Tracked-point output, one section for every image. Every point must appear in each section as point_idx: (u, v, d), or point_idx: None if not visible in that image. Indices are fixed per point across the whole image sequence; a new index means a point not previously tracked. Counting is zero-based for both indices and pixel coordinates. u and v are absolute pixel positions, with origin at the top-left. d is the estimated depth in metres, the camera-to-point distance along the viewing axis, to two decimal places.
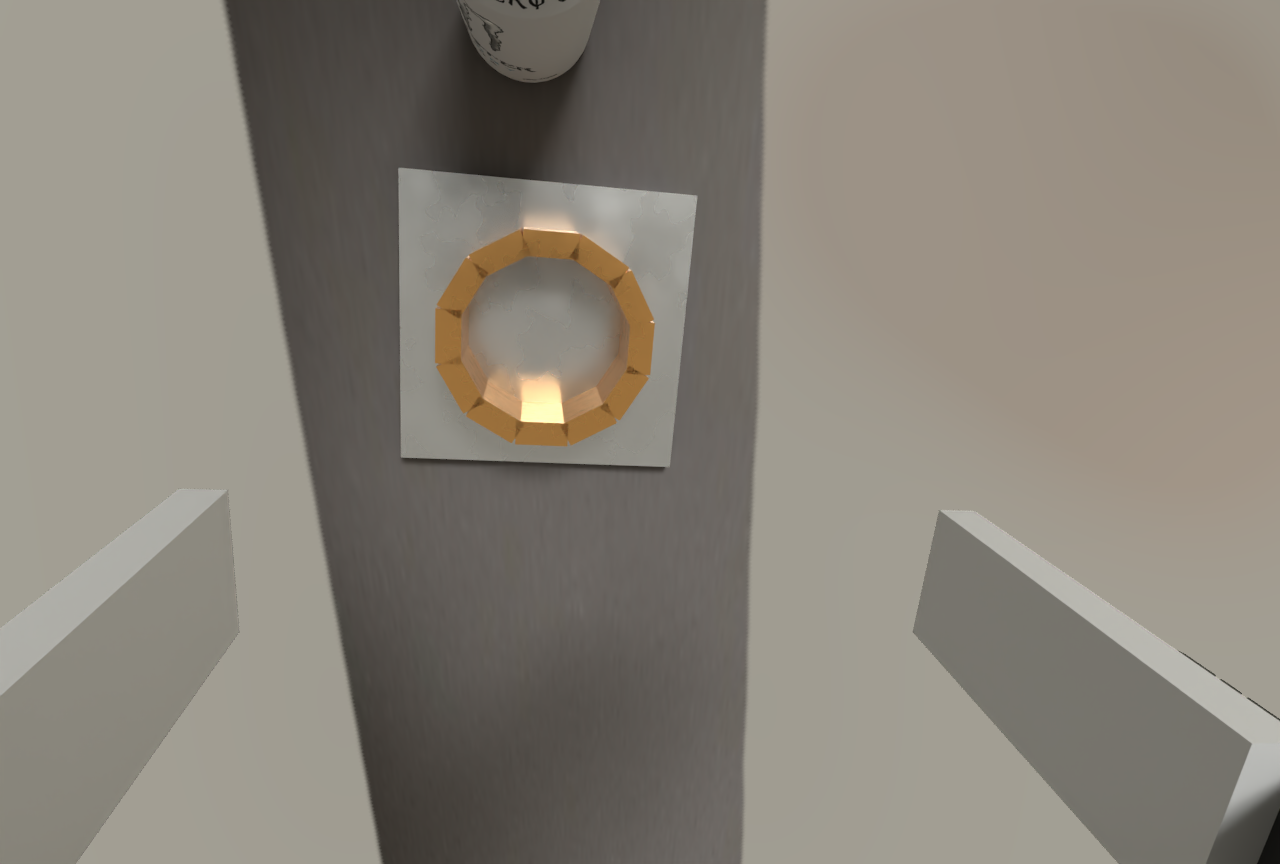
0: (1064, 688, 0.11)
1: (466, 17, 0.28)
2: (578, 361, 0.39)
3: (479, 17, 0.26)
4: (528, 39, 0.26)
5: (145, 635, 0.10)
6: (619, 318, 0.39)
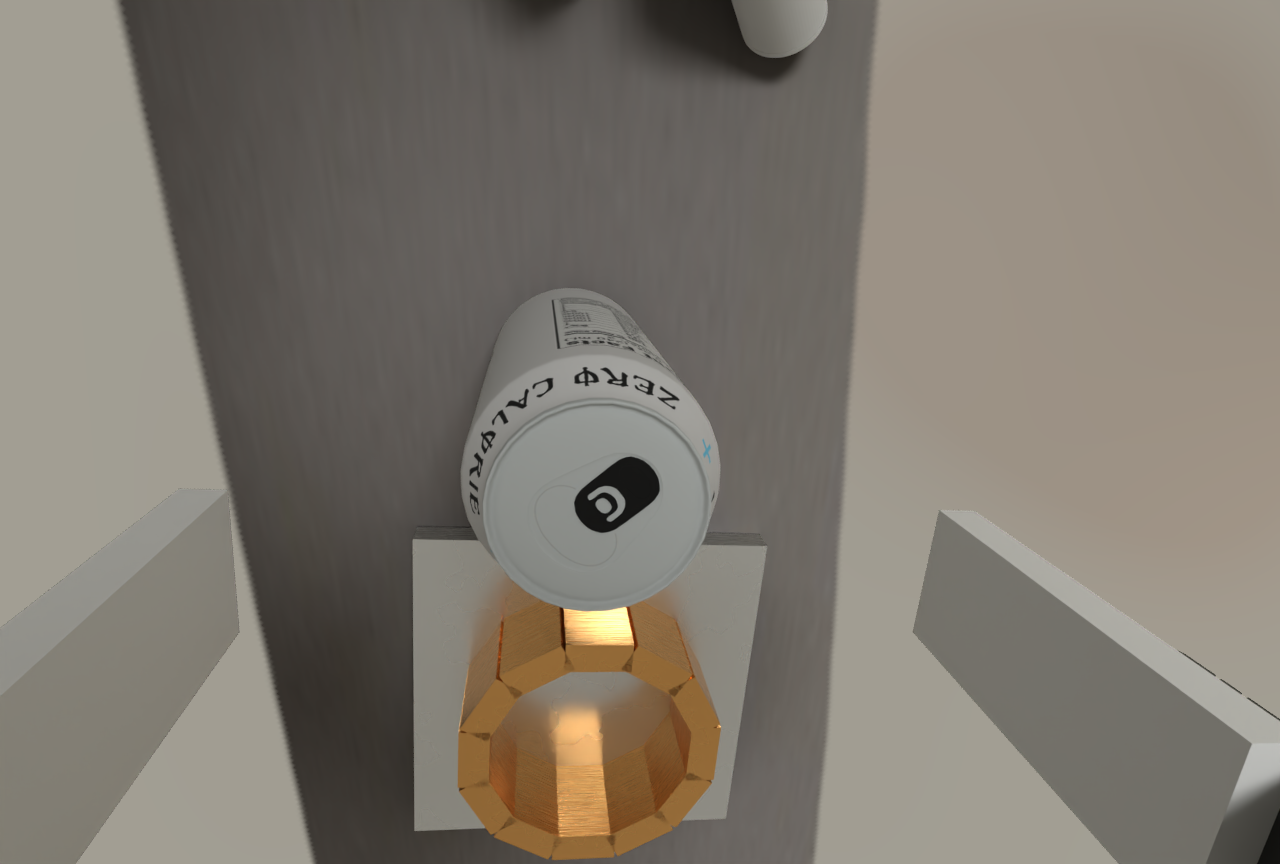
0: (1064, 688, 0.11)
1: None
2: (623, 722, 0.34)
3: None
4: None
5: (145, 635, 0.10)
6: None
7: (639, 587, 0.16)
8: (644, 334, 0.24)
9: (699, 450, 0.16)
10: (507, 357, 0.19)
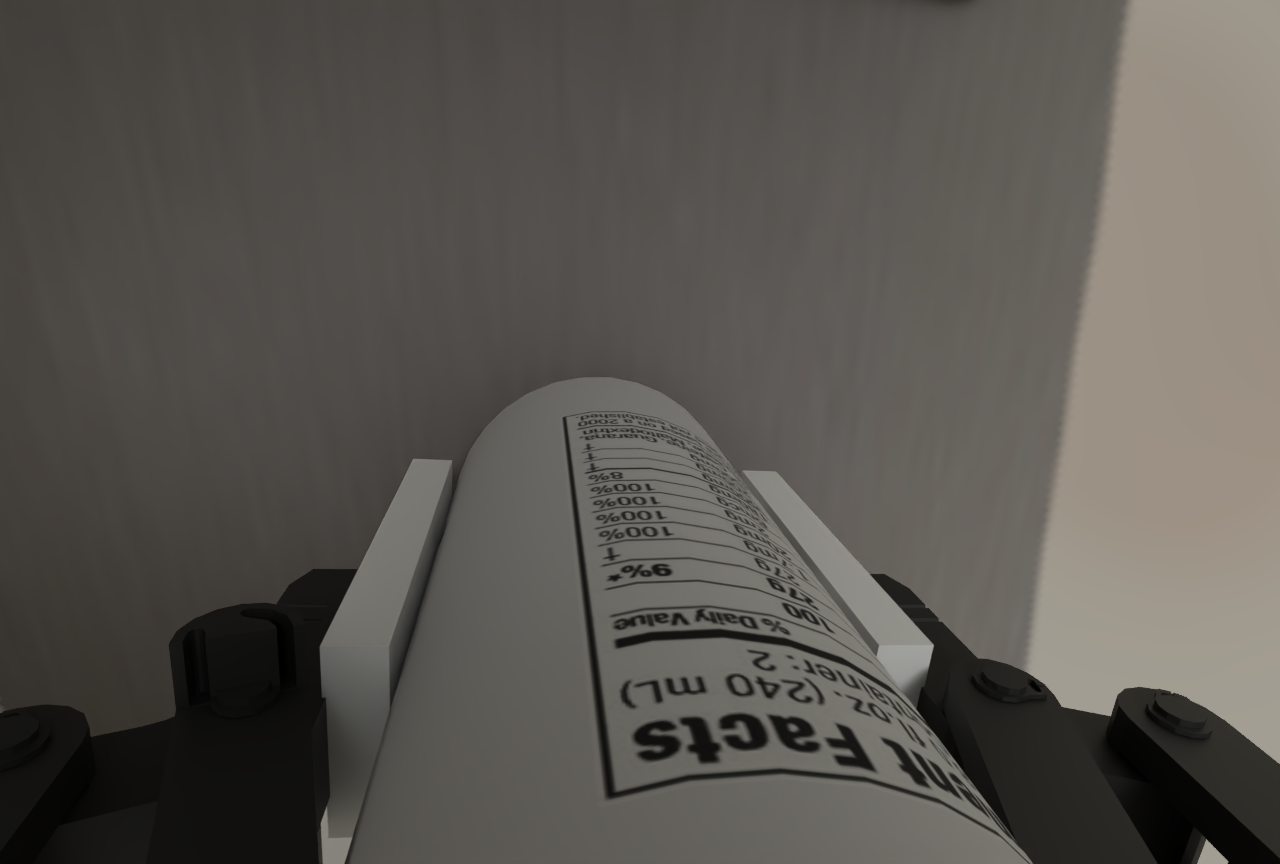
0: None
1: None
2: None
3: None
4: None
5: None
6: None
7: None
8: (748, 488, 0.12)
9: None
10: (447, 672, 0.07)
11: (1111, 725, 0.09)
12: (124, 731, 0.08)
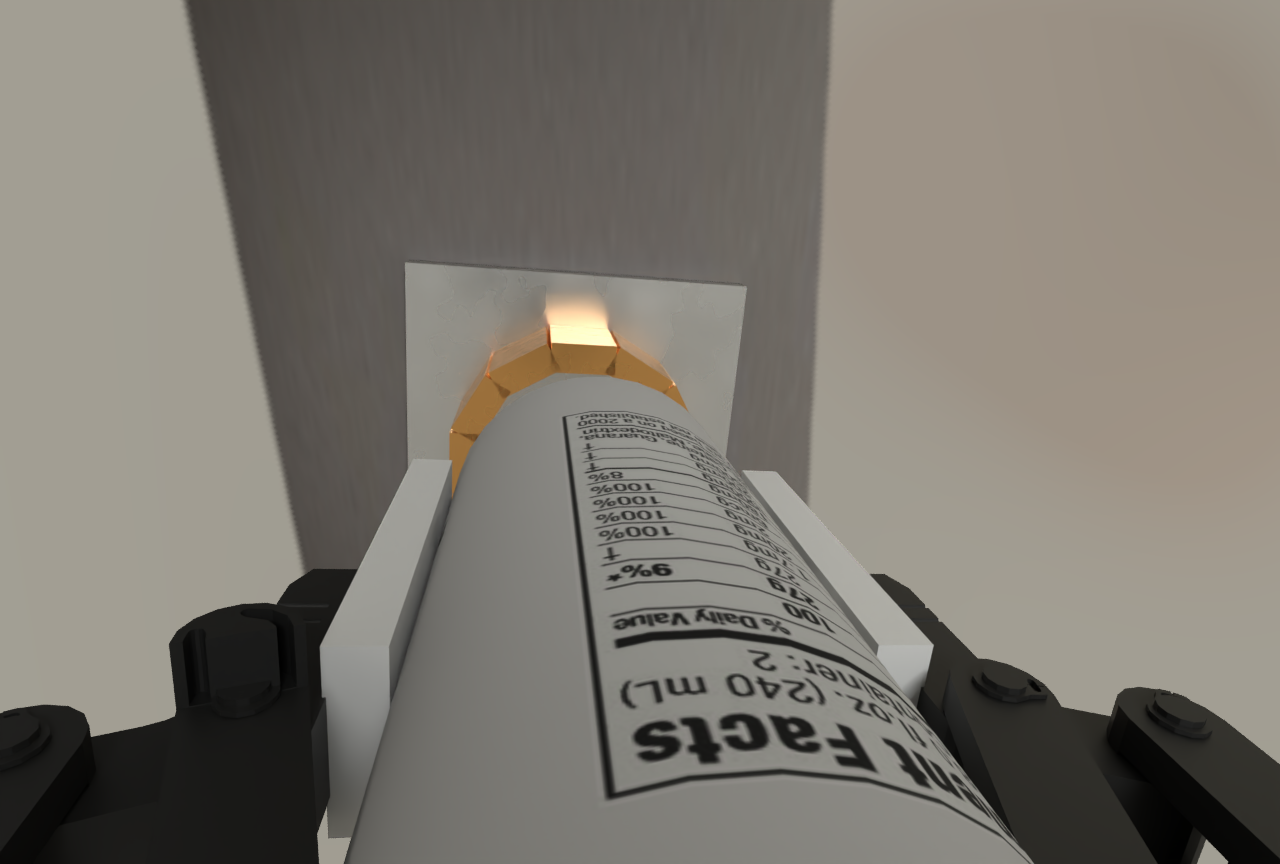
0: None
1: None
2: None
3: None
4: None
5: None
6: None
7: None
8: (748, 488, 0.12)
9: None
10: (447, 672, 0.07)
11: (1111, 724, 0.09)
12: (124, 731, 0.08)
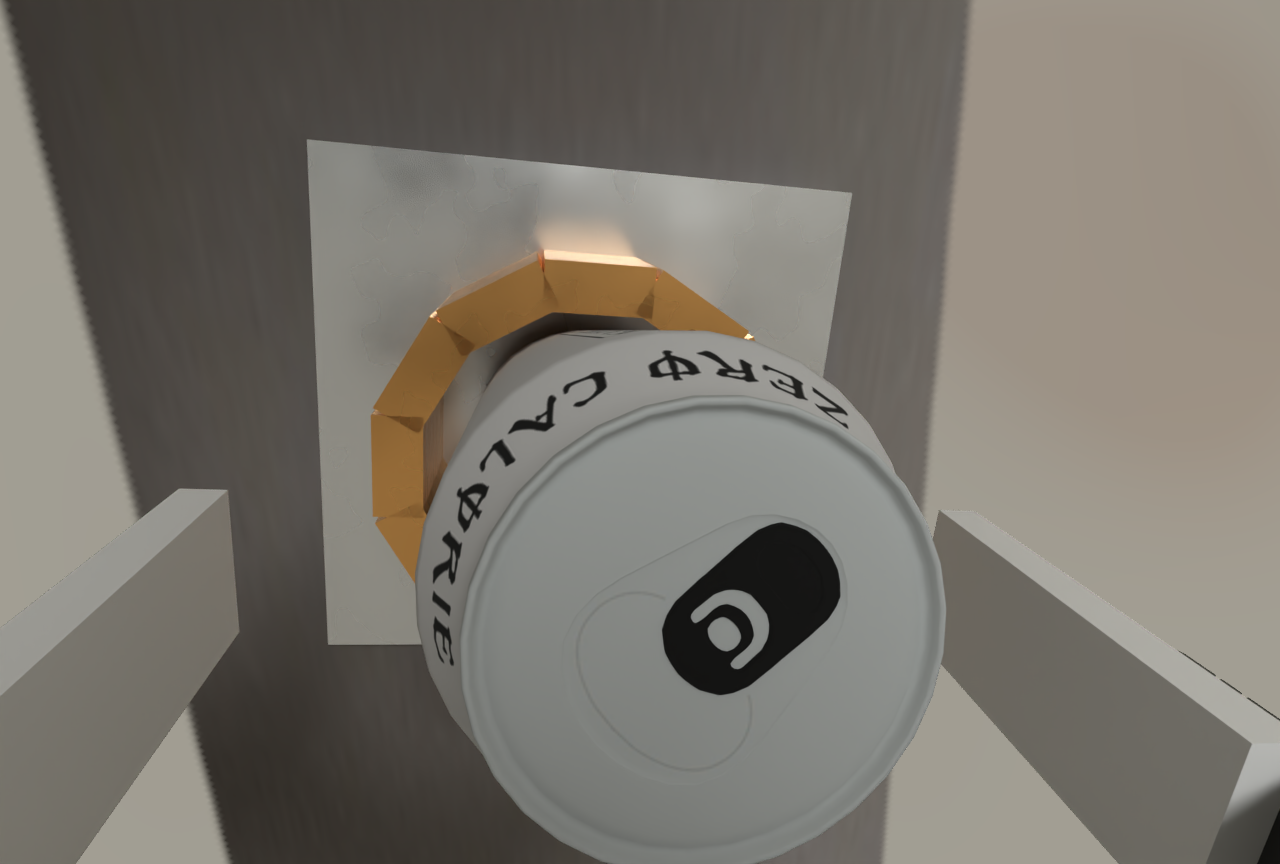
0: (1064, 688, 0.11)
1: None
2: None
3: None
4: None
5: (145, 635, 0.10)
6: None
7: (798, 811, 0.07)
8: None
9: None
10: (502, 382, 0.11)
11: None
12: None
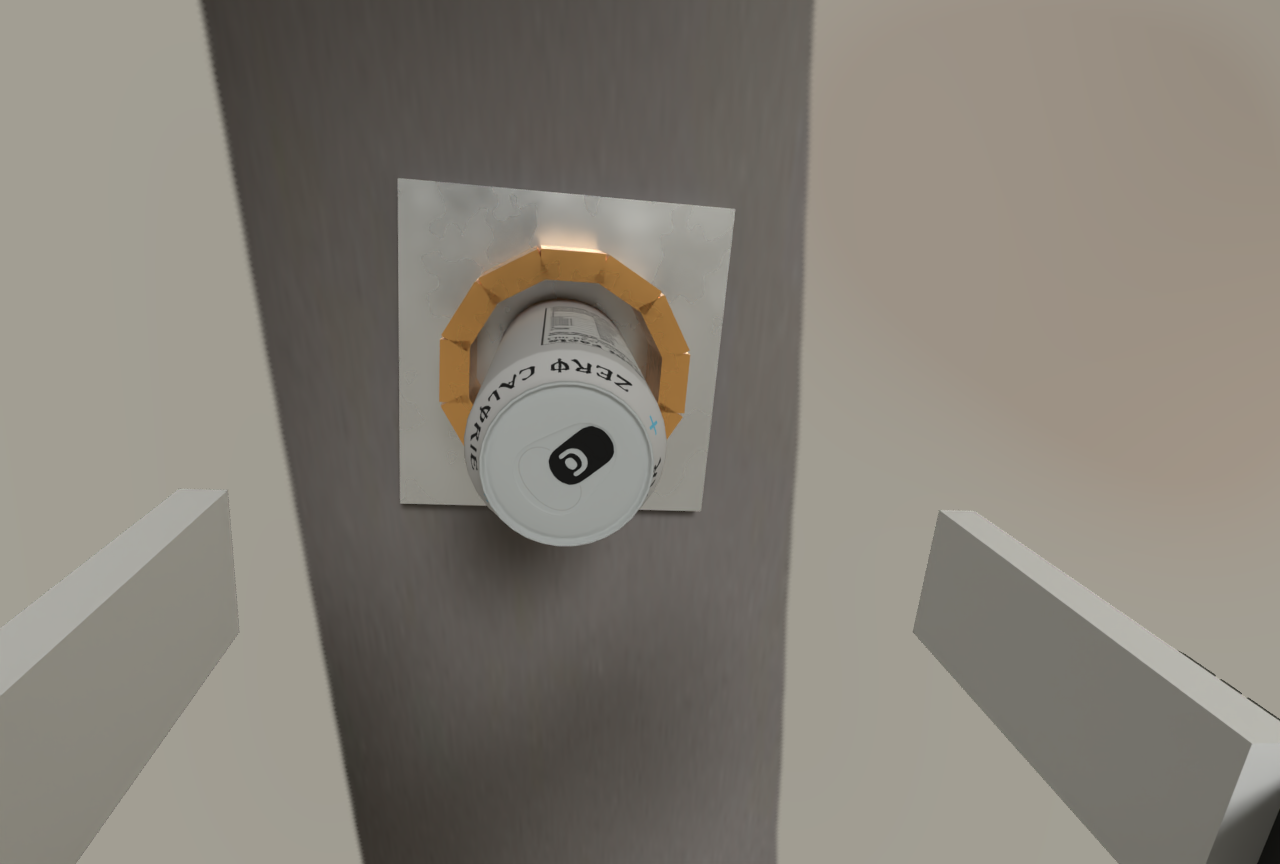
0: (1064, 688, 0.11)
1: None
2: None
3: None
4: None
5: (145, 635, 0.10)
6: (646, 346, 0.35)
7: (598, 528, 0.21)
8: (621, 338, 0.29)
9: (646, 423, 0.21)
10: (504, 352, 0.24)
11: None
12: None
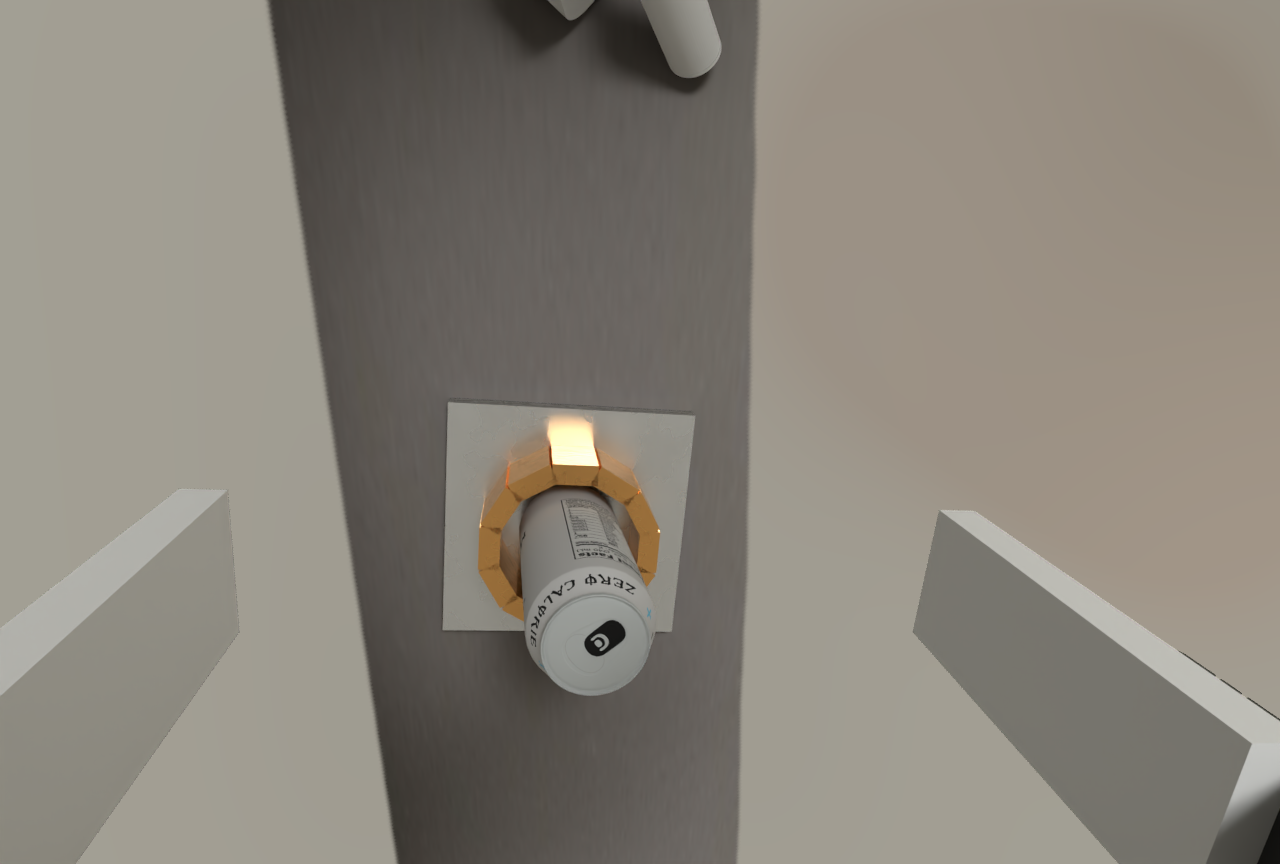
0: (1064, 688, 0.11)
1: None
2: None
3: None
4: None
5: (145, 635, 0.10)
6: None
7: (614, 683, 0.32)
8: (616, 522, 0.41)
9: (645, 614, 0.32)
10: (543, 554, 0.35)
11: None
12: None
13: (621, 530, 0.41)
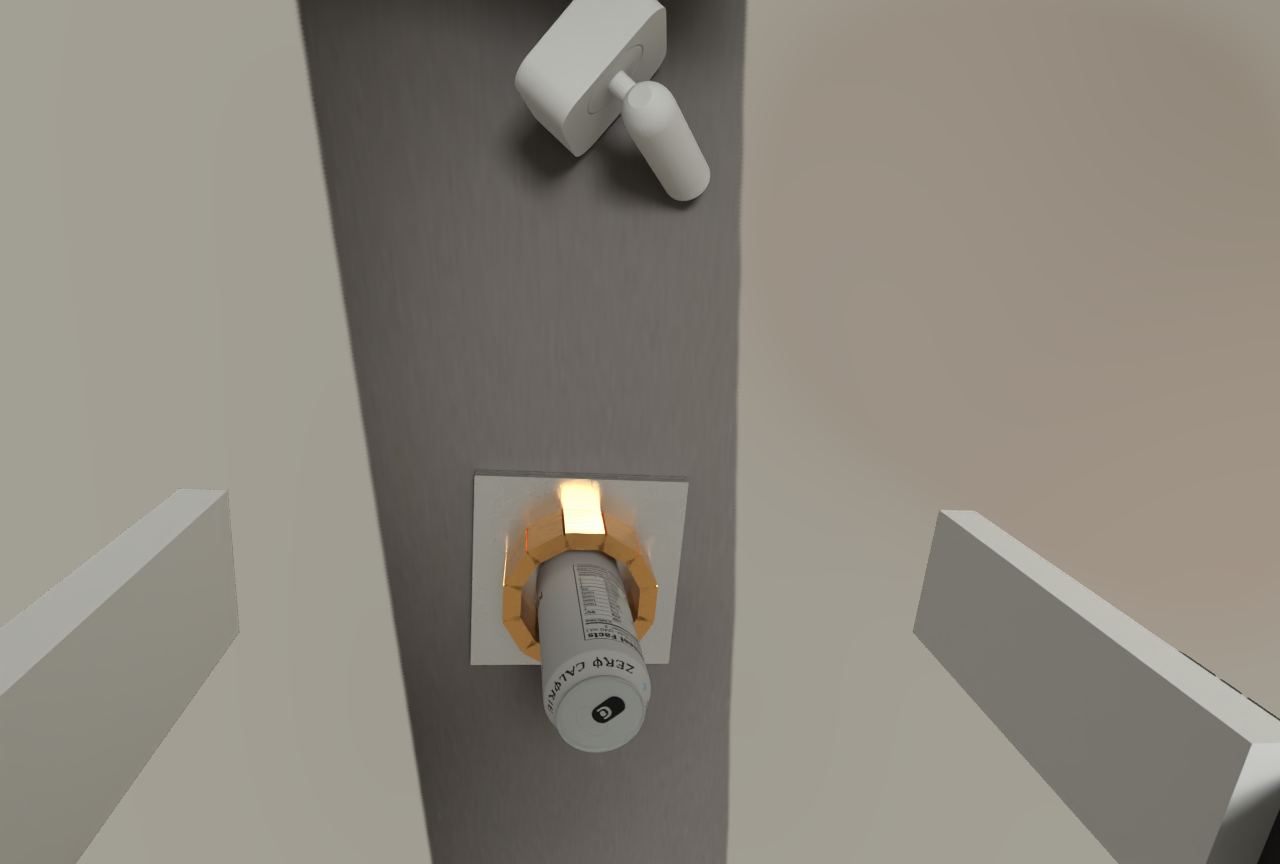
0: (1064, 688, 0.11)
1: None
2: None
3: None
4: None
5: (145, 635, 0.10)
6: None
7: (615, 742, 0.40)
8: (619, 585, 0.48)
9: (641, 689, 0.39)
10: (558, 627, 0.42)
11: None
12: None
13: (624, 592, 0.48)
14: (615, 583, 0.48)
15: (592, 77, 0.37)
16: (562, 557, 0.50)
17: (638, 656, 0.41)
